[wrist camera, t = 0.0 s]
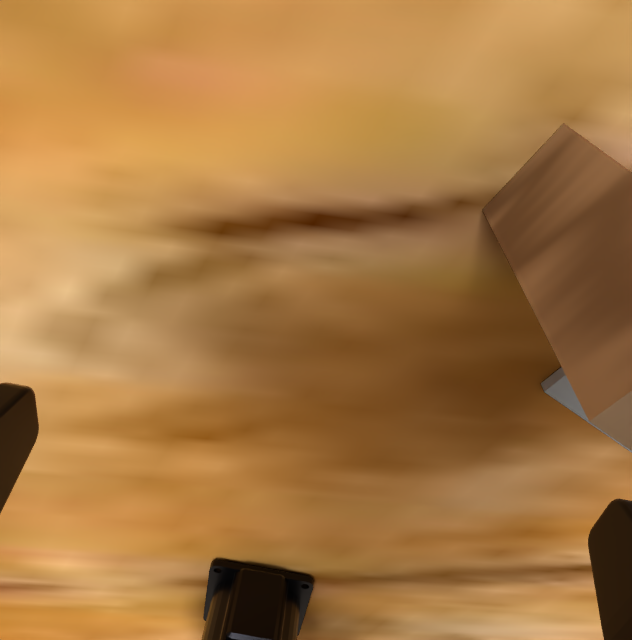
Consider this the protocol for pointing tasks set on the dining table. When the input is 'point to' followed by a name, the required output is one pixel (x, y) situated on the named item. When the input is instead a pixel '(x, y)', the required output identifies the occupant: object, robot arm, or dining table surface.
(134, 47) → the dining table surface
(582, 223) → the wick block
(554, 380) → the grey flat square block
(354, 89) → the dining table surface
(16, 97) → the dining table surface
